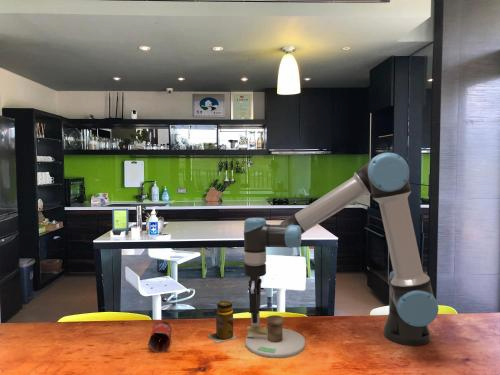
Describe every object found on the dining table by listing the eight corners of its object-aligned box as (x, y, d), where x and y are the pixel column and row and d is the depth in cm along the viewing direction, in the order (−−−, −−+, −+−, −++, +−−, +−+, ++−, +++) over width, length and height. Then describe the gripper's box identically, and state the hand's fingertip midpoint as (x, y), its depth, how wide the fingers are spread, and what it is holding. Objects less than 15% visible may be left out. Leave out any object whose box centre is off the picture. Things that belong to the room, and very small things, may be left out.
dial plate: (305, 333, 141) (305, 329, 141) (304, 360, 121) (304, 354, 121) (250, 330, 144) (250, 325, 144) (240, 355, 125) (240, 350, 125)
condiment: (238, 337, 138) (237, 304, 138) (216, 343, 134) (216, 308, 133) (227, 330, 144) (227, 298, 144) (206, 336, 140) (206, 302, 139)
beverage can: (172, 336, 139) (172, 318, 139) (170, 352, 127) (170, 332, 127) (152, 338, 138) (151, 319, 138) (147, 353, 126) (147, 333, 126)
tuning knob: (284, 335, 135) (284, 315, 135) (283, 343, 129) (283, 322, 129) (248, 333, 137) (248, 313, 137) (245, 340, 131) (245, 320, 131)
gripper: (247, 258, 142) (248, 322, 143) (240, 267, 129) (241, 337, 130) (268, 259, 141) (268, 324, 142) (263, 268, 128) (263, 339, 129)
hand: (255, 330), depth 136 cm, fingers closed
